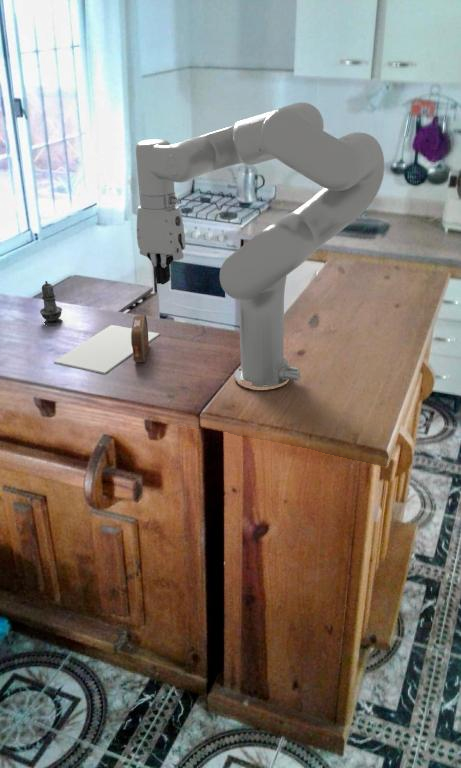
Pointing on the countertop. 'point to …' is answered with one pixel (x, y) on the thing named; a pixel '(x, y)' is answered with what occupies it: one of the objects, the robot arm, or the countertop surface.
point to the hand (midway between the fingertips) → (163, 282)
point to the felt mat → (102, 350)
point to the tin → (139, 338)
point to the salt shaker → (50, 306)
